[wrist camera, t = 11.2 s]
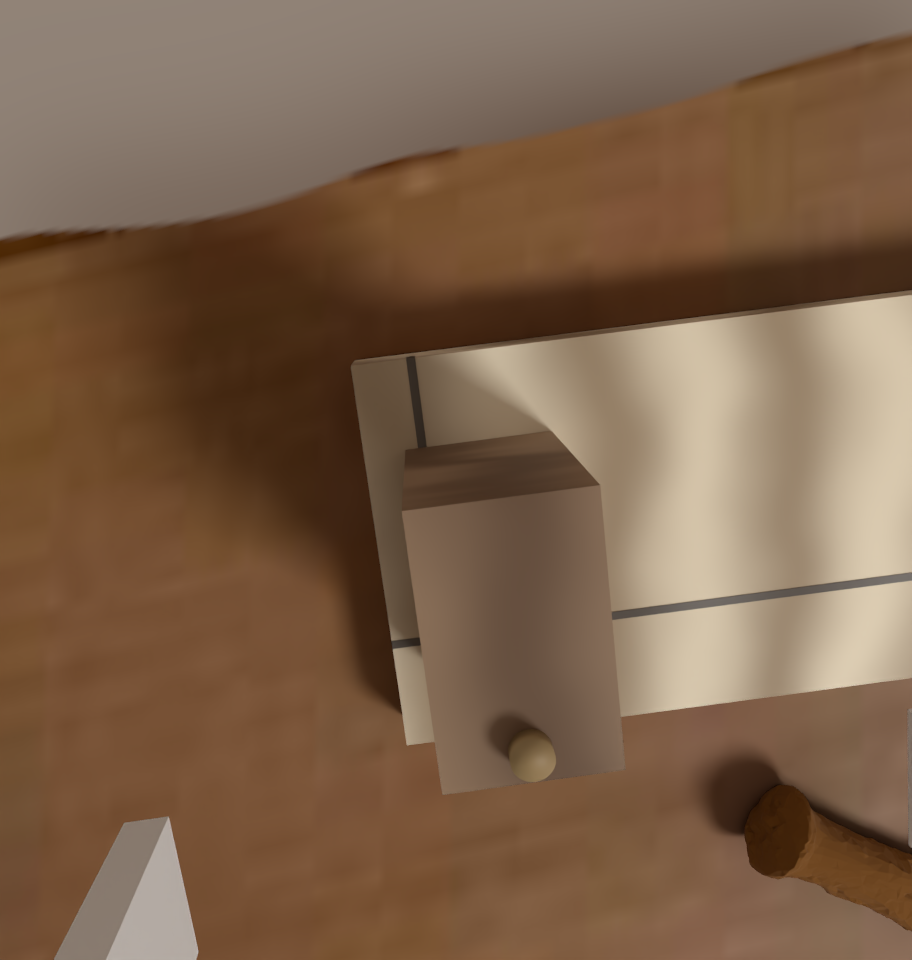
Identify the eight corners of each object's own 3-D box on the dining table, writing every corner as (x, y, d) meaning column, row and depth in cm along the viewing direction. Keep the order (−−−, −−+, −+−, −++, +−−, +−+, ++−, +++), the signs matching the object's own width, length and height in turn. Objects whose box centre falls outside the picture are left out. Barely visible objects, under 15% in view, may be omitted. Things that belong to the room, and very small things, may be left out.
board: (407, 718, 34) (406, 745, 32) (354, 360, 31) (350, 365, 29) (1111, 624, 34) (1153, 645, 32) (1131, 262, 31) (1179, 261, 29)
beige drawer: (435, 666, 31) (443, 808, 23) (405, 449, 29) (401, 517, 21) (573, 648, 31) (630, 782, 23) (551, 430, 29) (605, 490, 21)
